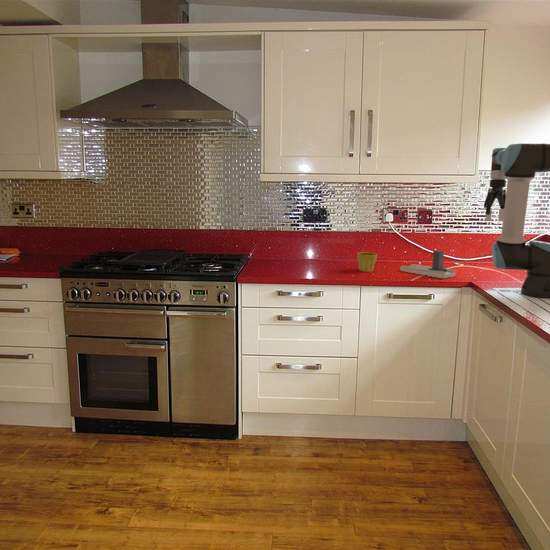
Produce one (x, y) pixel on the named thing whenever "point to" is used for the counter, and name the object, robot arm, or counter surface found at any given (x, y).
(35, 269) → the counter surface
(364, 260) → the plant pot
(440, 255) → the post
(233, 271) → the counter surface
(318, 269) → the counter surface
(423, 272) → the rail
